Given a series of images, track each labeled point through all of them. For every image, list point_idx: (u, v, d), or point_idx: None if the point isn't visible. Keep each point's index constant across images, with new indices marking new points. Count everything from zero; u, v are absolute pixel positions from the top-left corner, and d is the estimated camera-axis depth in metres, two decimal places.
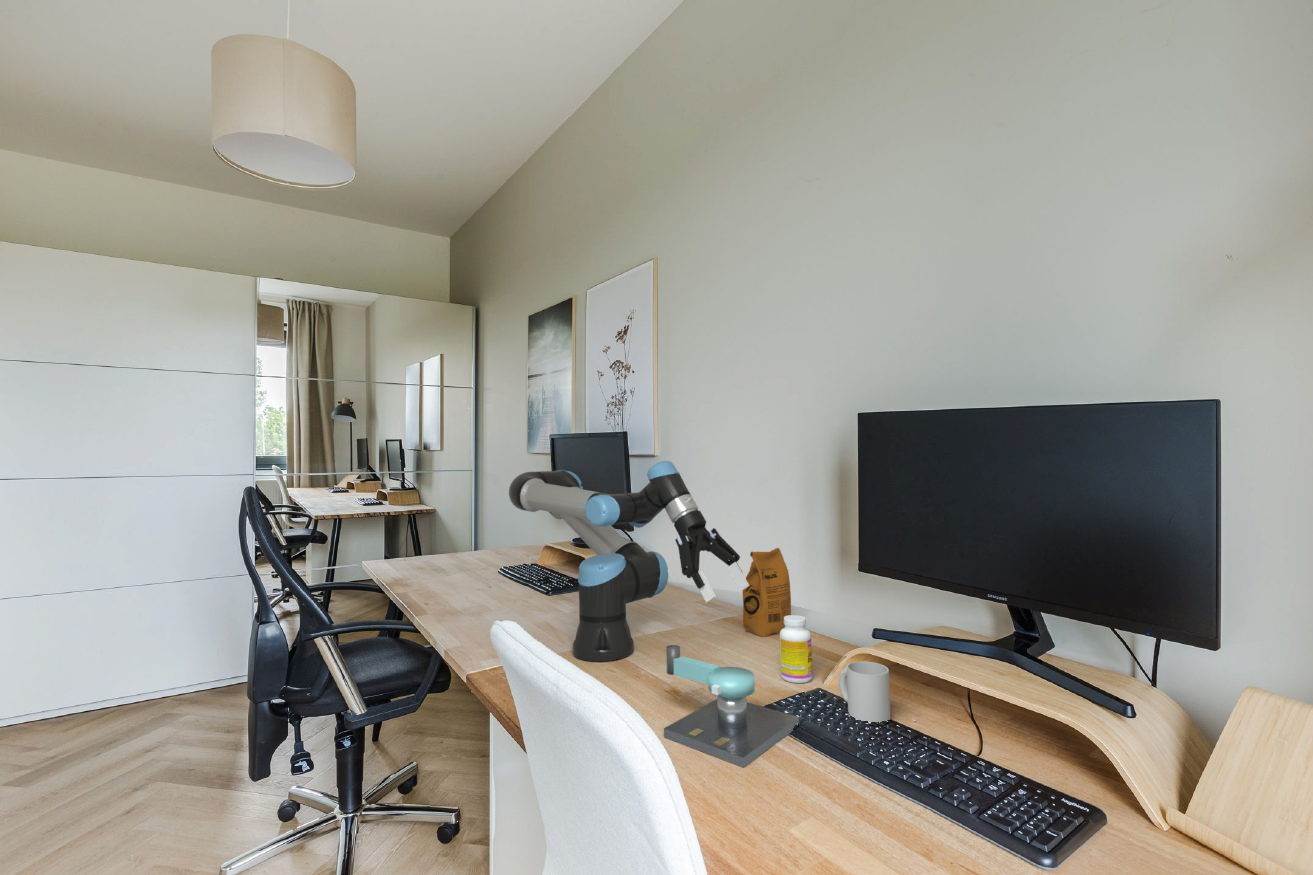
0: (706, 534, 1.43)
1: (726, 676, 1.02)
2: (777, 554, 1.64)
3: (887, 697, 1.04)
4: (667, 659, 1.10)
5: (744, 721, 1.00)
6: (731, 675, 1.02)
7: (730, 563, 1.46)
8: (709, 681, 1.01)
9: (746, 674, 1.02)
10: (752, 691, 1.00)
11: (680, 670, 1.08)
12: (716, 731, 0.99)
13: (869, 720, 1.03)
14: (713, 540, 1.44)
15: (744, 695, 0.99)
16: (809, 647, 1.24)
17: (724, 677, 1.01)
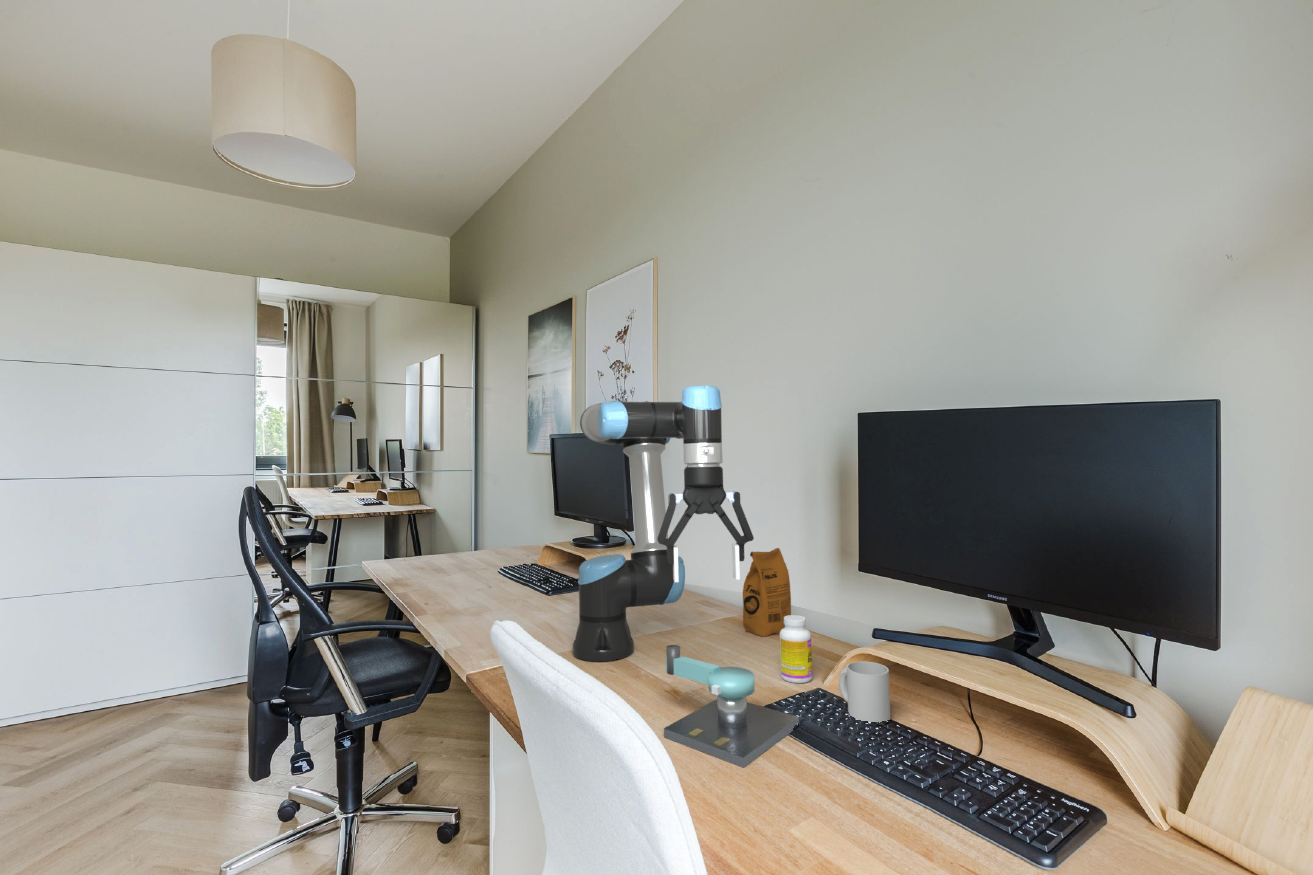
0: (711, 499, 1.12)
1: (726, 676, 1.02)
2: (777, 554, 1.64)
3: (887, 697, 1.04)
4: (667, 659, 1.10)
5: (744, 721, 1.00)
6: (731, 675, 1.02)
7: (736, 541, 1.14)
8: (709, 681, 1.01)
9: (746, 674, 1.02)
10: (752, 691, 1.00)
11: (680, 670, 1.08)
12: (716, 731, 0.99)
13: (869, 720, 1.03)
14: (719, 509, 1.12)
15: (744, 695, 0.99)
16: (809, 647, 1.24)
17: (724, 677, 1.01)
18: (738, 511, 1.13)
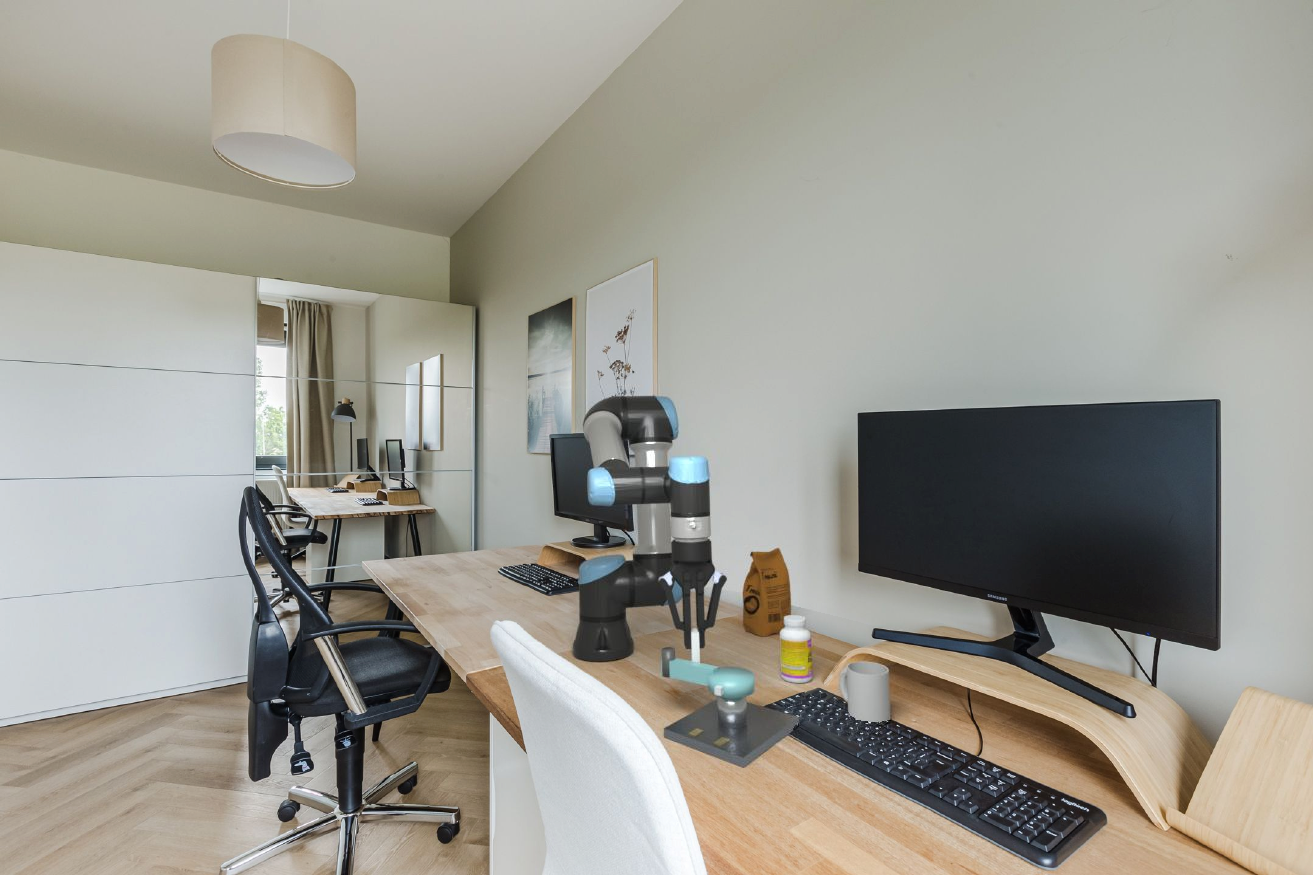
0: (700, 574, 1.08)
1: (727, 676, 1.02)
2: (777, 554, 1.64)
3: (887, 697, 1.04)
4: (662, 661, 1.09)
5: (744, 721, 1.00)
6: (731, 675, 1.02)
7: (697, 627, 1.10)
8: (710, 682, 1.01)
9: (746, 673, 1.03)
10: (753, 690, 1.00)
11: (677, 672, 1.07)
12: (716, 731, 0.99)
13: (869, 720, 1.03)
14: (700, 587, 1.08)
15: (746, 694, 0.99)
16: (809, 647, 1.24)
17: (725, 677, 1.01)
18: (715, 594, 1.09)
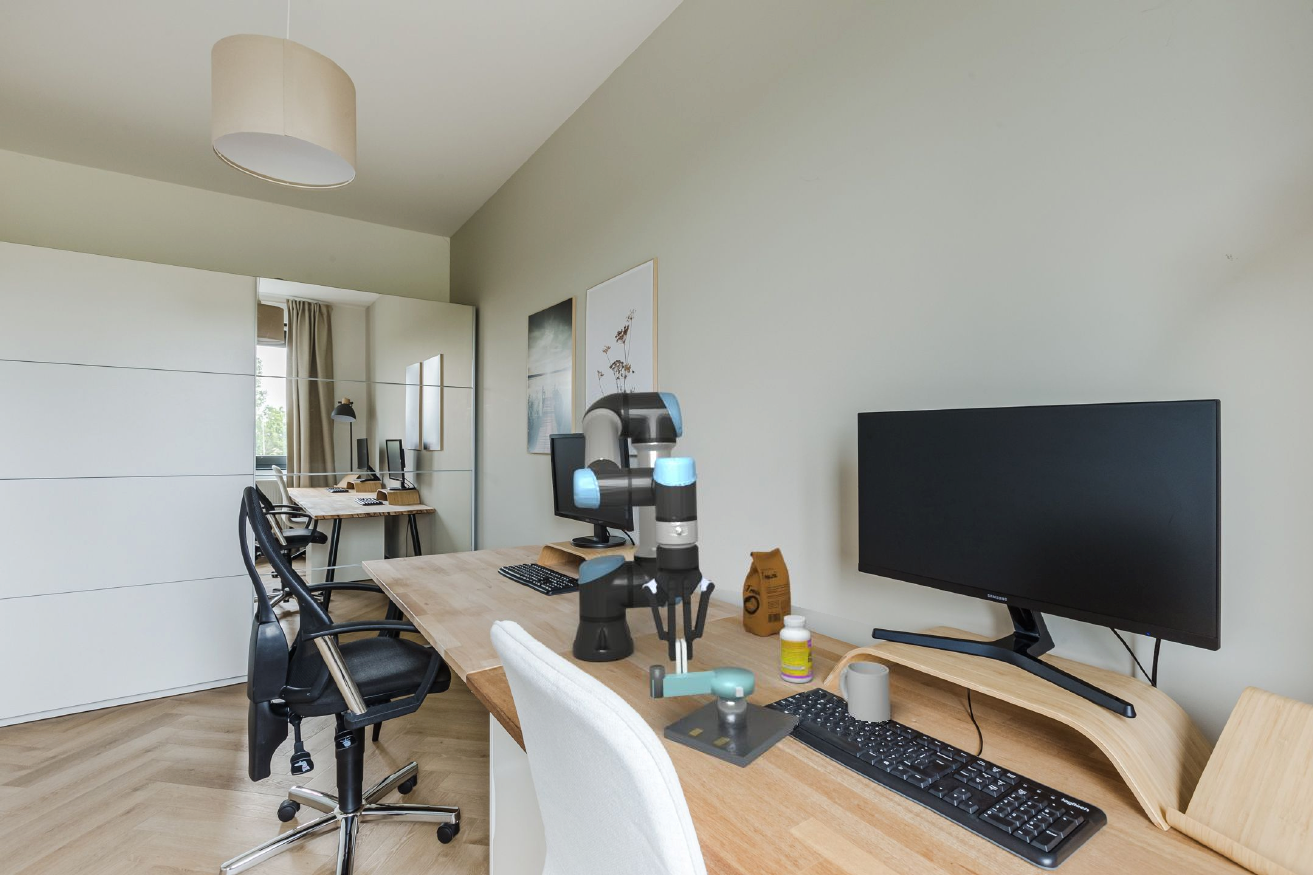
0: (686, 582, 1.02)
1: (731, 677, 1.01)
2: (777, 554, 1.64)
3: (887, 697, 1.04)
4: (655, 682, 0.99)
5: (744, 721, 1.00)
6: (732, 675, 1.02)
7: None
8: (723, 687, 0.99)
9: (739, 670, 1.04)
10: None
11: (672, 689, 1.00)
12: (716, 731, 0.99)
13: (869, 720, 1.03)
14: (687, 595, 1.02)
15: (754, 689, 1.01)
16: (809, 647, 1.24)
17: (732, 678, 1.01)
18: (703, 602, 1.03)
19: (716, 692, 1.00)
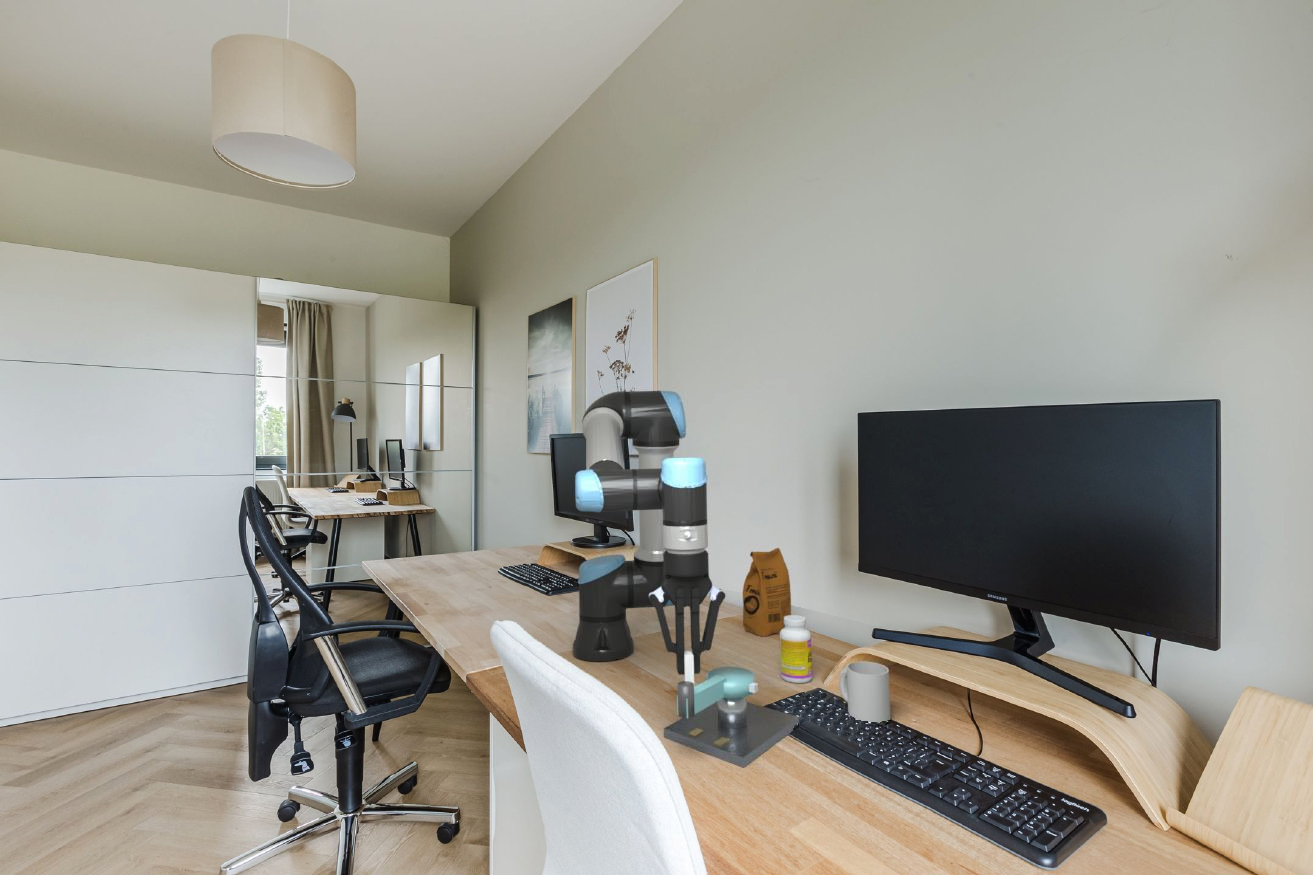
0: (695, 590, 0.96)
1: (735, 676, 1.02)
2: (777, 554, 1.64)
3: (887, 697, 1.04)
4: (689, 700, 0.91)
5: (744, 721, 1.00)
6: (732, 674, 1.02)
7: (692, 649, 0.98)
8: (739, 687, 0.99)
9: (729, 669, 1.05)
10: None
11: (700, 703, 0.94)
12: (716, 731, 0.99)
13: (869, 720, 1.03)
14: (695, 605, 0.96)
15: None
16: (809, 647, 1.24)
17: (738, 677, 1.01)
18: (712, 612, 0.97)
19: (732, 695, 0.98)
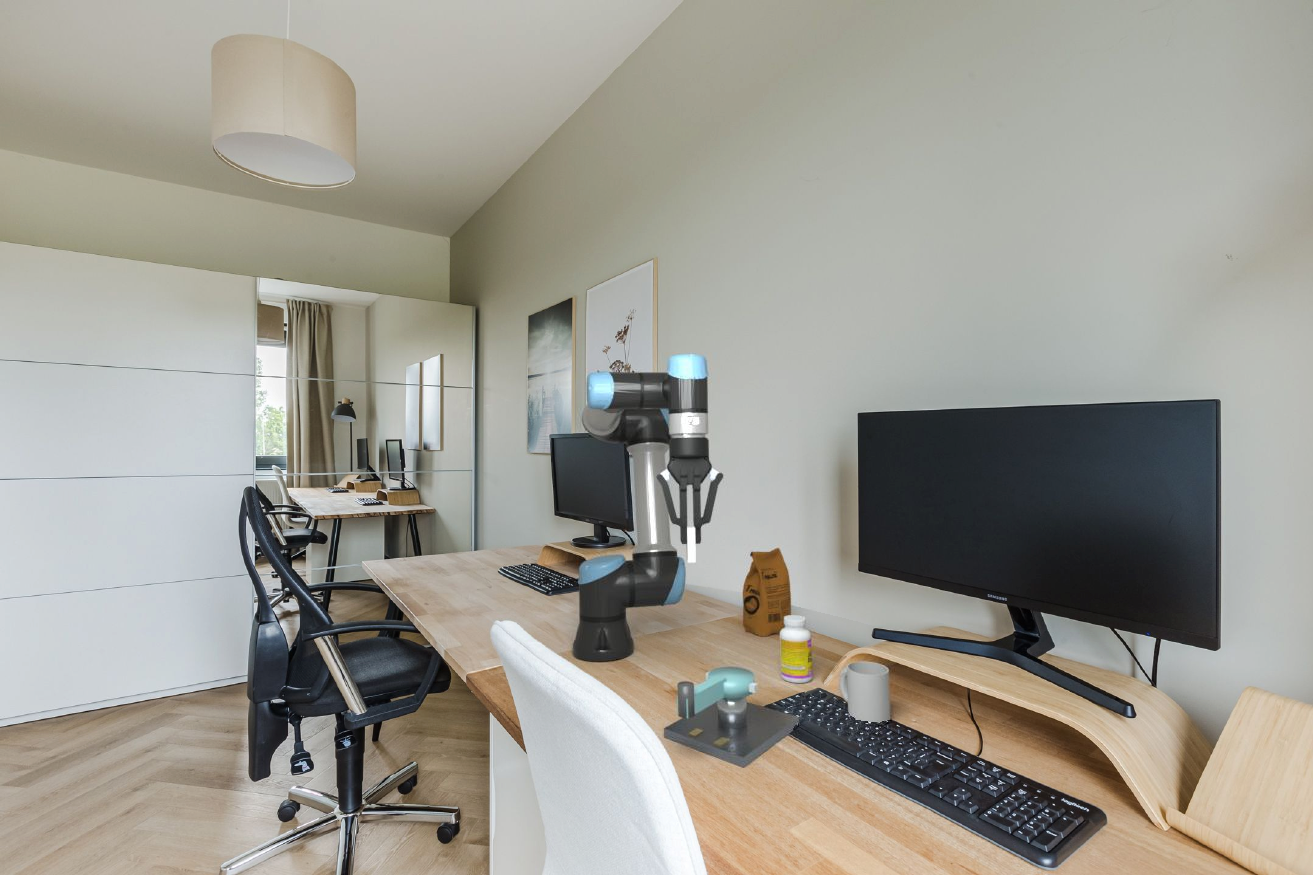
0: (696, 470, 1.10)
1: (735, 676, 1.02)
2: (777, 554, 1.64)
3: (887, 697, 1.04)
4: (690, 700, 0.91)
5: (744, 721, 1.00)
6: (732, 674, 1.02)
7: (694, 523, 1.12)
8: (739, 687, 0.99)
9: (729, 669, 1.05)
10: None
11: (700, 703, 0.94)
12: (716, 731, 0.99)
13: (869, 720, 1.03)
14: (697, 483, 1.10)
15: None
16: (809, 647, 1.24)
17: (738, 677, 1.01)
18: (712, 490, 1.10)
19: (732, 695, 0.98)
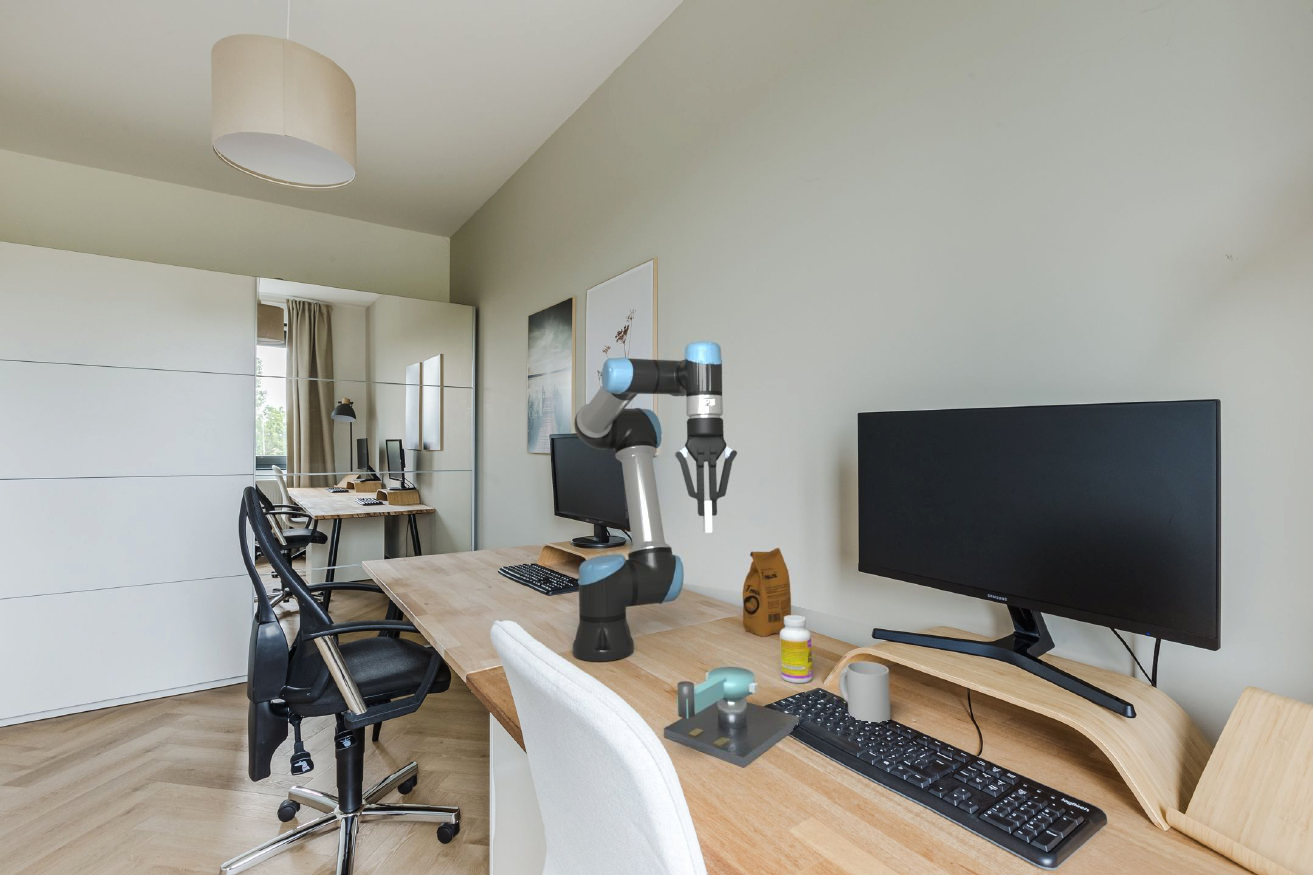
0: (712, 447, 1.20)
1: (735, 676, 1.02)
2: (777, 554, 1.64)
3: (887, 697, 1.04)
4: (690, 700, 0.91)
5: (744, 721, 1.00)
6: (732, 674, 1.02)
7: (710, 497, 1.21)
8: (739, 687, 0.99)
9: (729, 669, 1.05)
10: None
11: (700, 703, 0.94)
12: (716, 731, 0.99)
13: (869, 720, 1.03)
14: (713, 459, 1.20)
15: None
16: (809, 647, 1.24)
17: (738, 677, 1.01)
18: (726, 466, 1.20)
19: (732, 695, 0.98)
